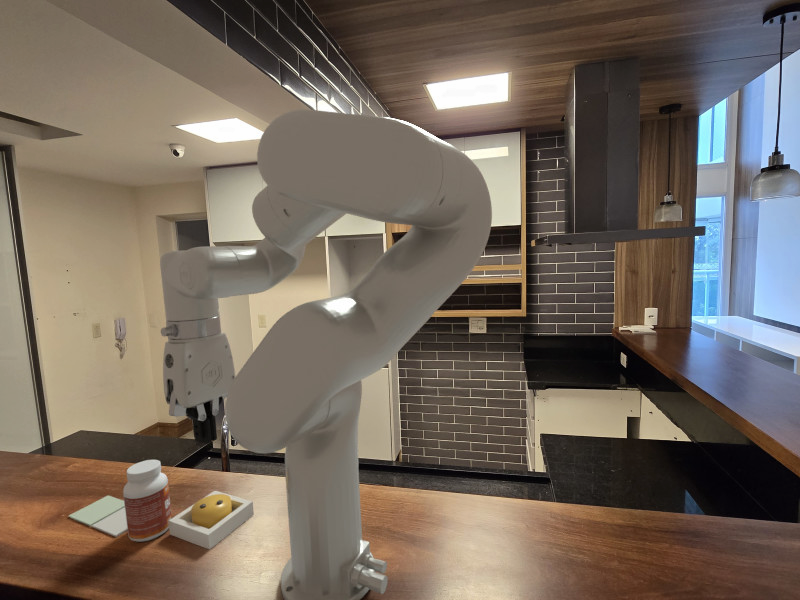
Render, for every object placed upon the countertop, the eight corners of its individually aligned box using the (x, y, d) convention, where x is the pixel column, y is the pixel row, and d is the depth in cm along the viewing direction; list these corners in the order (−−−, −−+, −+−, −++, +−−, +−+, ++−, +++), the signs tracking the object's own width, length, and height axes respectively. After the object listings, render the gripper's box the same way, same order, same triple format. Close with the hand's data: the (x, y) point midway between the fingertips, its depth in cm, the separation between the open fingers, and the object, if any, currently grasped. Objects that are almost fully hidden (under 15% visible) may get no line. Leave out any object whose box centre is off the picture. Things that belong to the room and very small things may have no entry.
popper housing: (253, 514, 70) (252, 501, 69) (209, 549, 62) (208, 534, 61) (216, 502, 74) (215, 490, 73) (170, 534, 65) (168, 520, 65)
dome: (240, 515, 69) (238, 497, 69) (210, 537, 64) (208, 518, 63) (215, 507, 71) (213, 490, 71) (184, 528, 66) (182, 510, 66)
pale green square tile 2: (129, 504, 74) (129, 502, 74) (90, 526, 68) (90, 524, 68) (108, 496, 77) (108, 495, 77) (68, 517, 71) (68, 515, 71)
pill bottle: (177, 529, 67) (170, 465, 65) (133, 549, 62) (125, 481, 61) (166, 513, 71) (160, 453, 70) (124, 530, 67) (117, 466, 66)
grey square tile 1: (155, 513, 71) (154, 511, 71) (116, 537, 65) (115, 535, 65) (131, 505, 74) (131, 503, 74) (92, 527, 68) (92, 525, 68)
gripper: (166, 339, 56) (180, 467, 58) (248, 322, 69) (257, 425, 71) (131, 337, 59) (146, 458, 61) (216, 321, 72) (226, 420, 74)
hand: (206, 440), depth 66 cm, fingers closed
